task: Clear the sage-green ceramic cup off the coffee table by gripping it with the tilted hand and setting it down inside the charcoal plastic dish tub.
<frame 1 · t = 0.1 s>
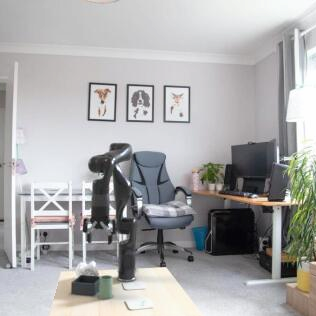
hand: (99, 243, 144), 29 cm above the table, tool pointing down, fingers open, 8 cm apart
cup: (105, 296, 162), on the table
tub: (87, 290, 169), on the table
white knot sculpture: (87, 279, 186), on the table
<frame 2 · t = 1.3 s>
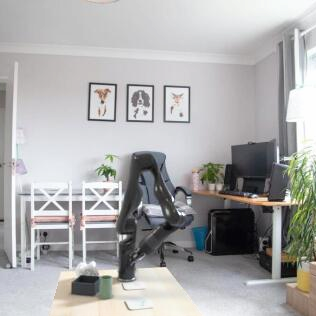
hand: (128, 266, 159), 16 cm above the table, tool tilted 45°, fingers open, 8 cm apart
nothing on the table moved.
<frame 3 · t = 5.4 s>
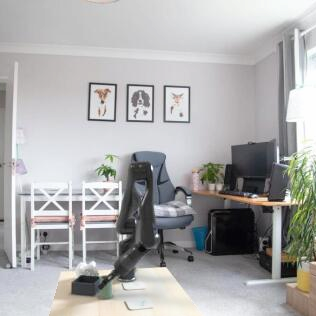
hand: (102, 285, 163), 5 cm above the table, tool tilted 45°, fingers closed on cup, 6 cm apart
cup: (105, 296, 162), on the table, touching gripper
everything else where it was.
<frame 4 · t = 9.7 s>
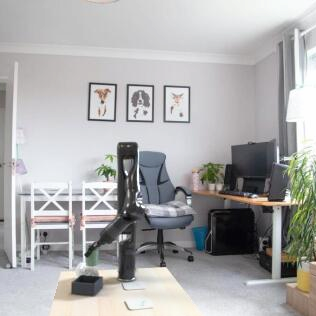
hand: (89, 254, 168), 18 cm above the table, tool tilted 45°, fingers closed on cup, 6 cm apart
cup: (92, 264, 168), point 13 cm above the table, touching gripper
everything else where it was.
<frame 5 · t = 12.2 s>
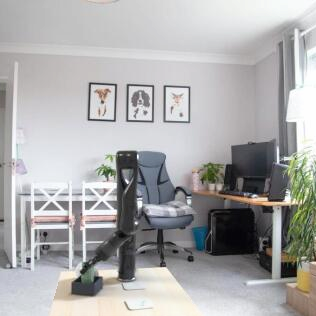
hand: (84, 271, 170), 9 cm above the table, tool tilted 45°, fingers closed on cup, 6 cm apart
cup: (87, 281, 169), point 5 cm above the table, touching gripper
everything else where it was.
when the fingers open (5 cm above the table, at t = 14.0 s): cup stays where it is, resting on tub.
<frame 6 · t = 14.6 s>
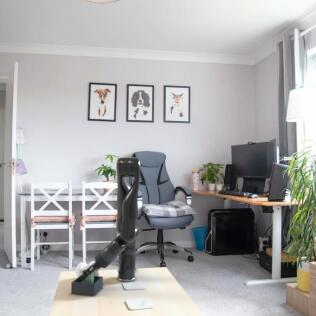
hand: (85, 277, 170), 6 cm above the table, tool tilted 45°, fingers open, 8 cm apart
cup: (87, 289, 169), point 1 cm above the table, touching tub
everything else where it was.
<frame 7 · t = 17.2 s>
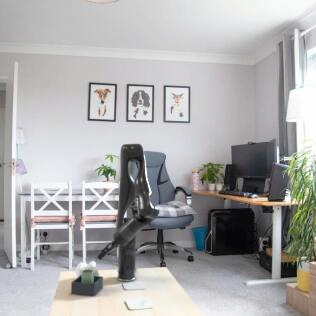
hand: (102, 256, 166), 18 cm above the table, tool tilted 45°, fingers open, 8 cm apart
nothing on the table moved.
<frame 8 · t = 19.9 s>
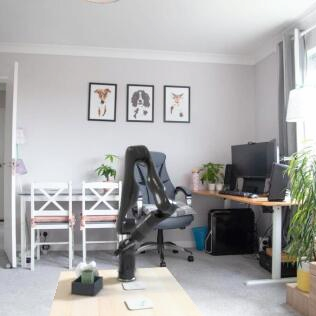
hand: (119, 252, 163), 21 cm above the table, tool tilted 45°, fingers open, 8 cm apart
nothing on the table moved.
at the end: cup inside the target area in the tub (0.1 cm from its centre), point 0.6 cm above the tub's base; cup tilted 0°; the gripper is holding nothing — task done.
